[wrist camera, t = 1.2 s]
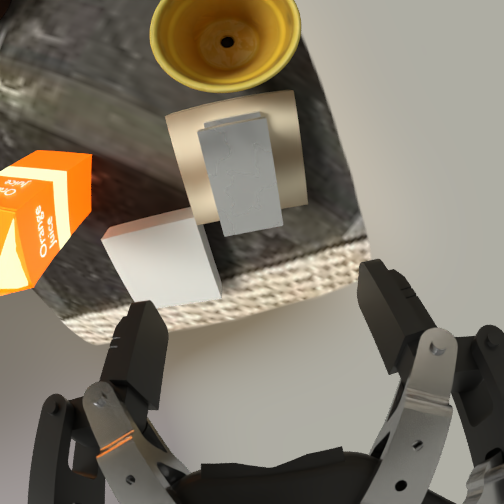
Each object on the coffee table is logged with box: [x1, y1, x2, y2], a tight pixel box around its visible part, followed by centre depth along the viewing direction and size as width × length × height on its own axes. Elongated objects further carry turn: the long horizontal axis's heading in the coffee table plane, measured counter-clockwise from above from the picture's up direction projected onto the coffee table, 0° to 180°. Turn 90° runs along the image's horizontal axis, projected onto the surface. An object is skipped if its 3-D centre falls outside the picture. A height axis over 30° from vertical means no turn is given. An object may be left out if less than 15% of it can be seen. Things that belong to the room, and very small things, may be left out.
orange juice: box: [0, 150, 92, 296], centre depth 19 cm, size 8×9×20 cm
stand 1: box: [101, 207, 222, 308], centre depth 34 cm, size 12×12×3 cm
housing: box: [197, 111, 283, 237], centre depth 23 cm, size 9×5×6 cm, turn 10°
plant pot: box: [150, 0, 301, 93], centre depth 17 cm, size 10×10×10 cm
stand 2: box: [165, 90, 308, 225], centre depth 27 cm, size 12×12×3 cm
